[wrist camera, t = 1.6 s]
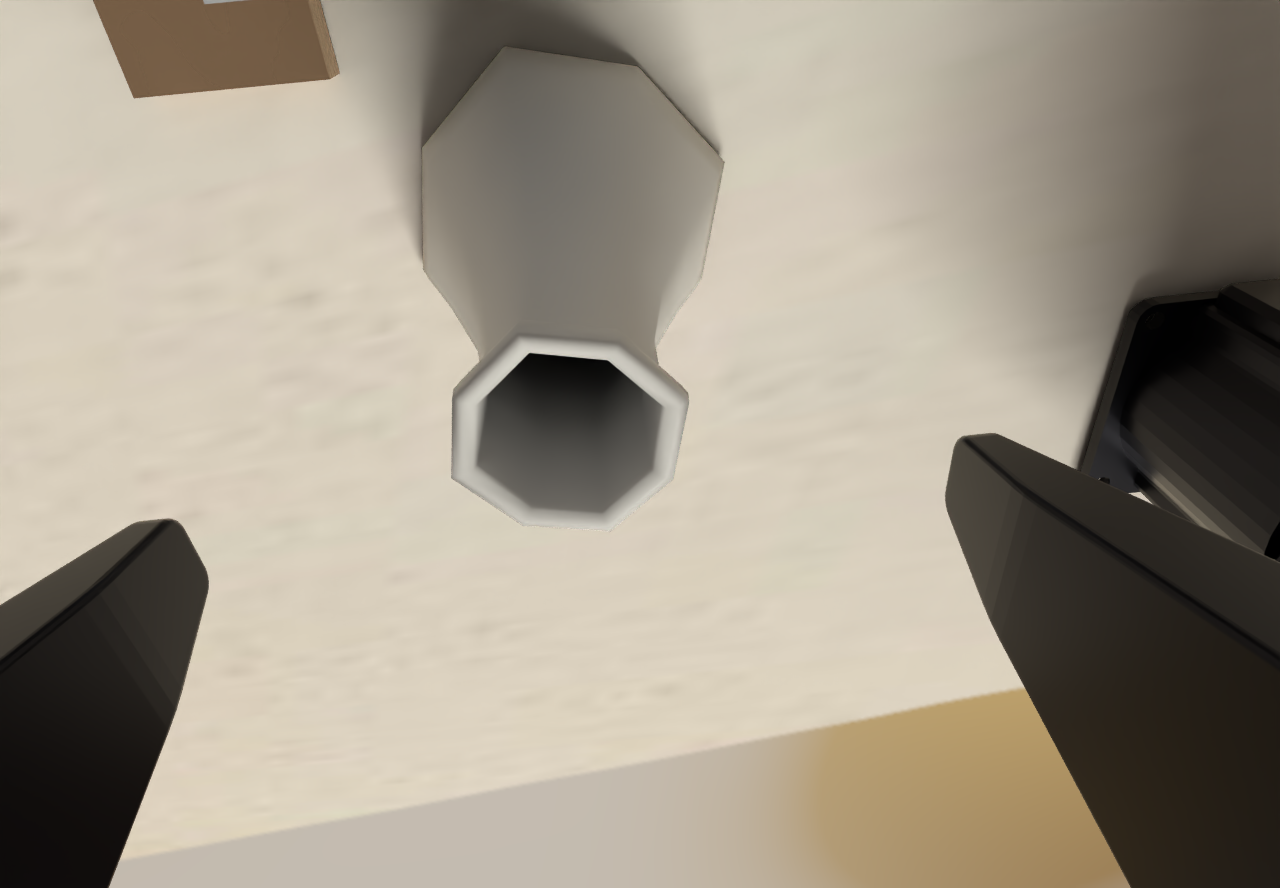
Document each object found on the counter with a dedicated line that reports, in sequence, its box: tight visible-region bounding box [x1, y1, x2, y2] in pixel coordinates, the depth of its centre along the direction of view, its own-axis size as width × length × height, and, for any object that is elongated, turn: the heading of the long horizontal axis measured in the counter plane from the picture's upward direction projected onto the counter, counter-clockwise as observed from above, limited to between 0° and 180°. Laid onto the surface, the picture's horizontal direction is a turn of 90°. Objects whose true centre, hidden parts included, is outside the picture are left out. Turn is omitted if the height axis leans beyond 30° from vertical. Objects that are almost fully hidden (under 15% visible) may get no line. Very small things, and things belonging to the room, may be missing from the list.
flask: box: [422, 46, 725, 531], centre depth 14 cm, size 7×7×10 cm
